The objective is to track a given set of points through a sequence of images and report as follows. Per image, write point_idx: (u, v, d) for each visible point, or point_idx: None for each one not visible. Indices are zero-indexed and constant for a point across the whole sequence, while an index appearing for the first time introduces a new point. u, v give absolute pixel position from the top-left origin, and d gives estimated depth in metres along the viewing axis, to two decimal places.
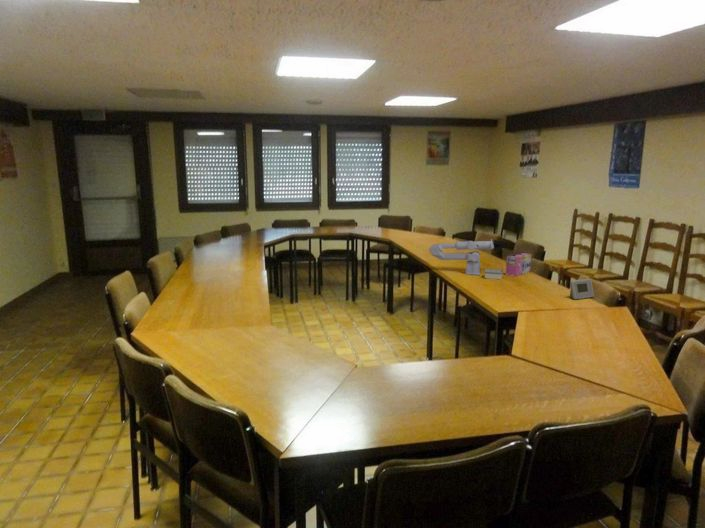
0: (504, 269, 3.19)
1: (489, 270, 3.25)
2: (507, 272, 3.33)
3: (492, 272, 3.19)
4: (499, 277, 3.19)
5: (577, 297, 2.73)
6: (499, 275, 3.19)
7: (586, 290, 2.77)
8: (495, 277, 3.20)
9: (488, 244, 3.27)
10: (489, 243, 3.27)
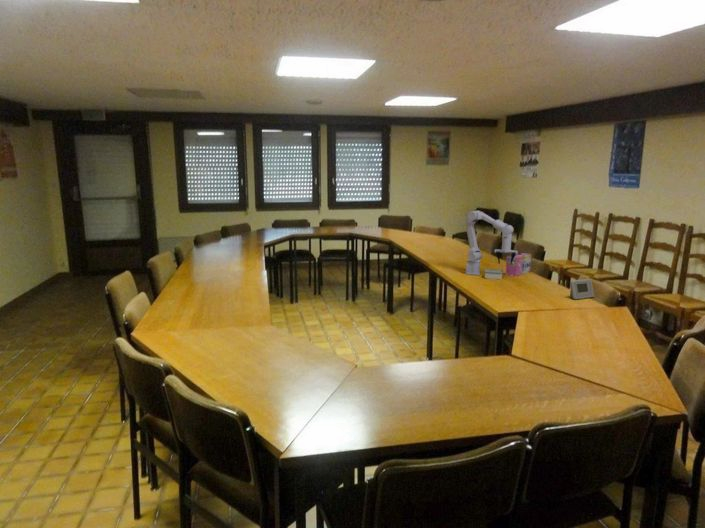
0: (504, 269, 3.19)
1: (489, 270, 3.25)
2: (507, 272, 3.33)
3: (492, 272, 3.19)
4: (499, 277, 3.19)
5: (577, 297, 2.73)
6: (499, 275, 3.19)
7: (586, 290, 2.77)
8: (495, 277, 3.20)
9: (502, 247, 3.18)
10: (502, 249, 3.17)
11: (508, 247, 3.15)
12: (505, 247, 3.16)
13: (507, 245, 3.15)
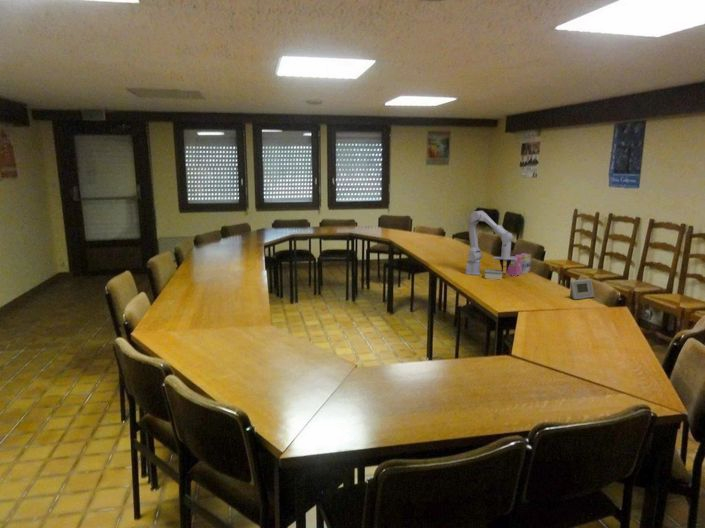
0: (504, 269, 3.19)
1: (489, 270, 3.25)
2: (507, 272, 3.33)
3: (492, 272, 3.19)
4: (499, 277, 3.19)
5: (577, 297, 2.73)
6: (499, 275, 3.19)
7: (586, 290, 2.77)
8: (495, 277, 3.20)
9: (501, 255, 3.19)
10: (502, 256, 3.18)
11: (507, 254, 3.16)
12: (504, 254, 3.17)
13: (506, 252, 3.16)
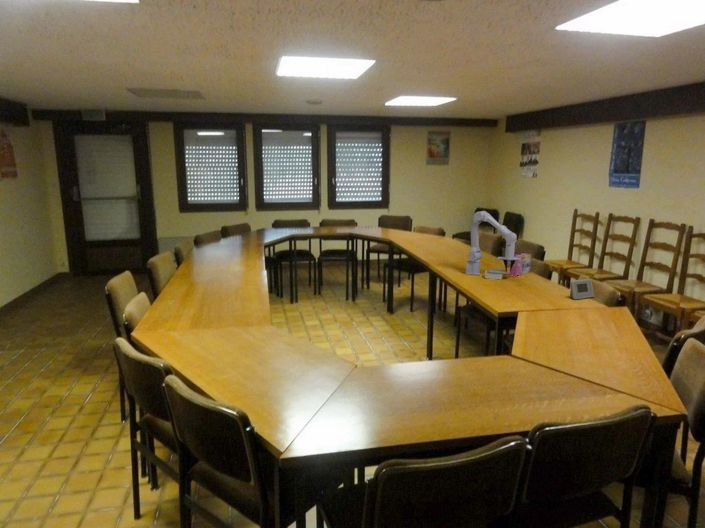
0: (508, 269, 3.19)
1: (493, 270, 3.24)
2: None
3: (496, 272, 3.19)
4: (499, 277, 3.19)
5: (577, 297, 2.73)
6: (499, 275, 3.19)
7: (586, 290, 2.77)
8: (495, 277, 3.20)
9: (505, 255, 3.18)
10: (505, 256, 3.18)
11: (511, 255, 3.16)
12: (508, 255, 3.16)
13: (510, 253, 3.15)
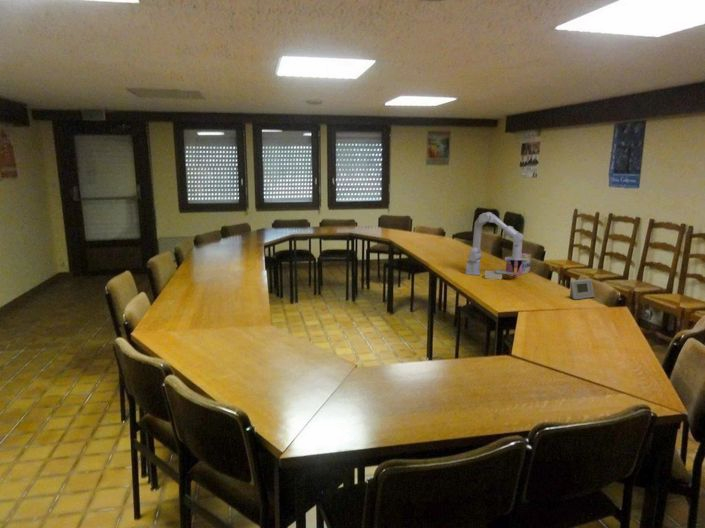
0: (515, 270, 3.17)
1: (500, 271, 3.23)
2: None
3: (503, 273, 3.18)
4: (499, 277, 3.19)
5: (577, 297, 2.73)
6: (499, 275, 3.19)
7: (586, 290, 2.77)
8: (495, 277, 3.20)
9: (512, 255, 3.17)
10: (513, 257, 3.17)
11: (519, 255, 3.15)
12: (516, 255, 3.15)
13: (518, 253, 3.14)
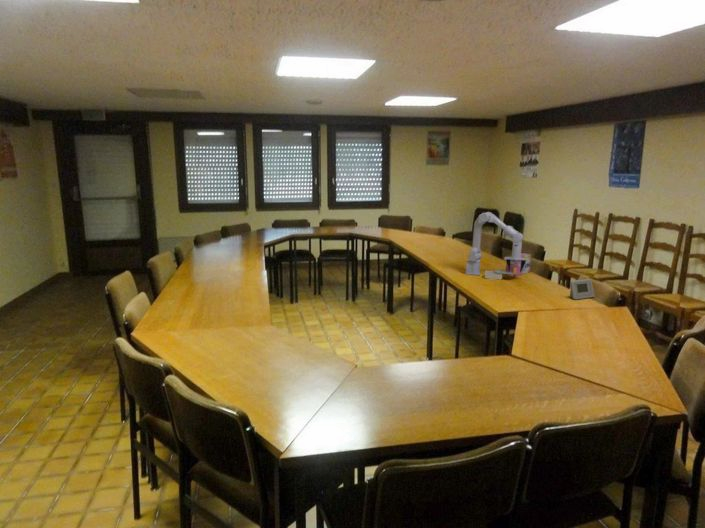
0: (515, 270, 3.17)
1: (499, 271, 3.23)
2: None
3: (502, 273, 3.18)
4: (499, 277, 3.19)
5: (577, 297, 2.73)
6: (499, 275, 3.19)
7: (586, 290, 2.77)
8: (495, 277, 3.20)
9: (512, 255, 3.17)
10: (512, 256, 3.17)
11: (518, 255, 3.15)
12: (515, 255, 3.15)
13: (517, 253, 3.14)
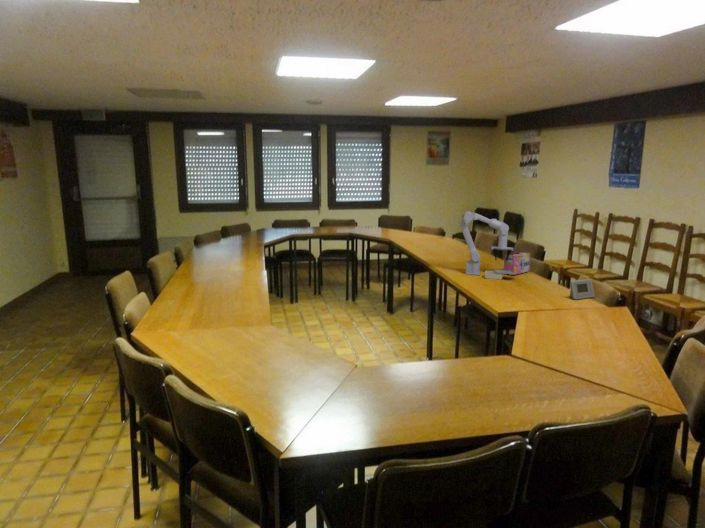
0: (515, 270, 3.17)
1: (499, 271, 3.23)
2: None
3: (502, 273, 3.18)
4: (499, 277, 3.19)
5: (577, 297, 2.73)
6: (499, 275, 3.19)
7: (586, 290, 2.76)
8: (495, 277, 3.20)
9: (498, 245, 3.29)
10: (498, 246, 3.29)
11: (504, 244, 3.26)
12: (501, 244, 3.27)
13: (503, 242, 3.26)
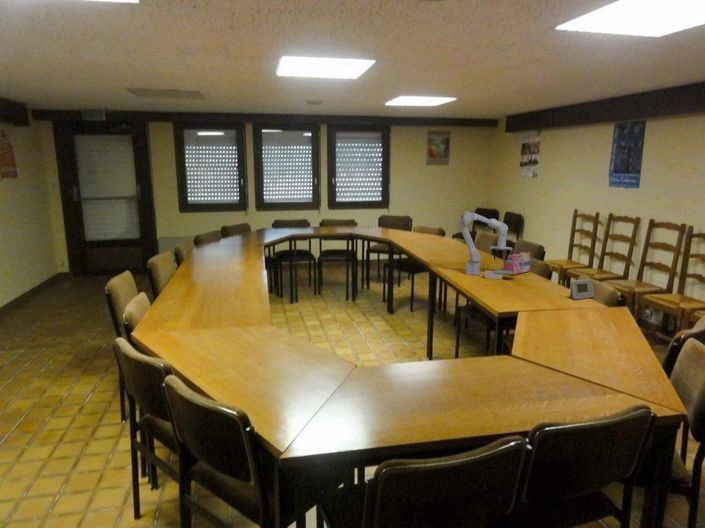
0: (515, 270, 3.17)
1: (499, 271, 3.23)
2: None
3: (502, 273, 3.18)
4: (499, 277, 3.19)
5: (577, 297, 2.73)
6: (499, 275, 3.19)
7: (586, 290, 2.76)
8: (495, 277, 3.20)
9: (497, 244, 3.30)
10: (498, 245, 3.29)
11: (503, 244, 3.27)
12: (500, 244, 3.28)
13: (502, 242, 3.27)
